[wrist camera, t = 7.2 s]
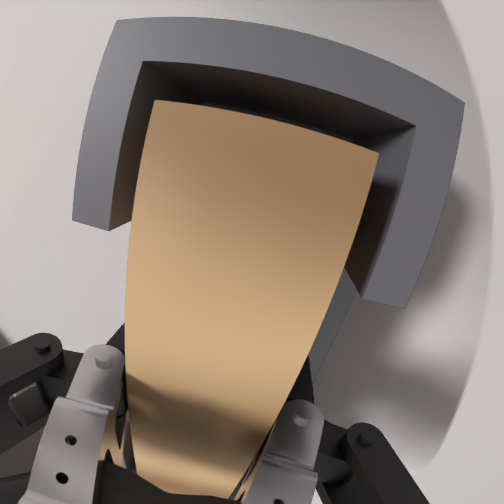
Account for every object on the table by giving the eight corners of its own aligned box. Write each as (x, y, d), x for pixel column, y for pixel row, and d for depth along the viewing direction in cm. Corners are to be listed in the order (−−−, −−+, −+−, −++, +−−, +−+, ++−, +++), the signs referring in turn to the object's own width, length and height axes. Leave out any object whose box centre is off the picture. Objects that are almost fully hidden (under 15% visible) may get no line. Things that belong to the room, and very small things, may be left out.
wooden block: (214, 128, 9) (155, 100, 4) (328, 156, 9) (379, 153, 4) (166, 418, 14) (139, 485, 9) (234, 436, 14) (221, 508, 9)
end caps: (175, 59, 10) (103, -1, 4) (401, 115, 10) (489, 91, 4) (132, 407, 16) (100, 470, 11) (270, 445, 16) (265, 516, 11)
